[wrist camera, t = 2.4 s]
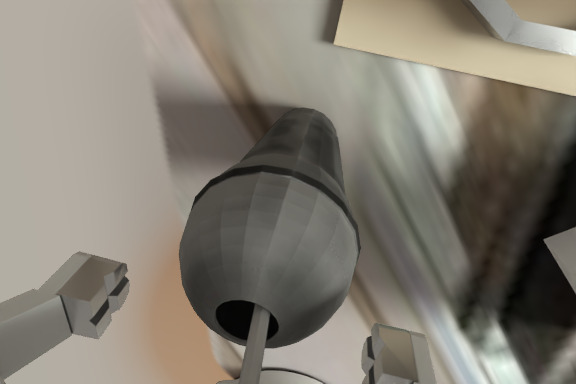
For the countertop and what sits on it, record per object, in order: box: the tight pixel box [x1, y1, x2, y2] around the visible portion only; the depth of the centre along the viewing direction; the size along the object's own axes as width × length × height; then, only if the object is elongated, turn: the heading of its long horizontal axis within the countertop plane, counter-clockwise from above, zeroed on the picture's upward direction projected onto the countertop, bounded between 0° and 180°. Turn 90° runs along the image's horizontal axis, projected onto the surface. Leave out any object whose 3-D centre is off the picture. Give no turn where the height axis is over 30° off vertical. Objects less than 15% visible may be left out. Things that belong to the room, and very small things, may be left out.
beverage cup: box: [179, 108, 361, 384], centre depth 15 cm, size 7×7×20 cm
